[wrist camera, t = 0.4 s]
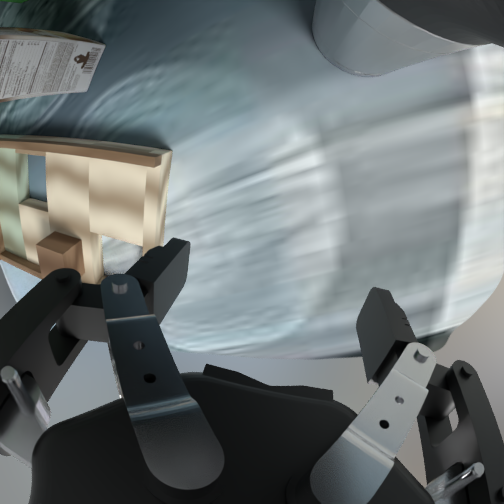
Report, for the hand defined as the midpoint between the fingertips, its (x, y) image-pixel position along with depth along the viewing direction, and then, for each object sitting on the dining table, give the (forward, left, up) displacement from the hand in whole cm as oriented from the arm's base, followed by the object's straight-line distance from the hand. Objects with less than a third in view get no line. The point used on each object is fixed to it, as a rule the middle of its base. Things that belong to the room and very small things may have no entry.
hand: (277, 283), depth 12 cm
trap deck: (+10, -28, -18) cm, 35 cm away
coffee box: (-10, -28, -18) cm, 35 cm away
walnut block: (+14, -25, -16) cm, 33 cm away
